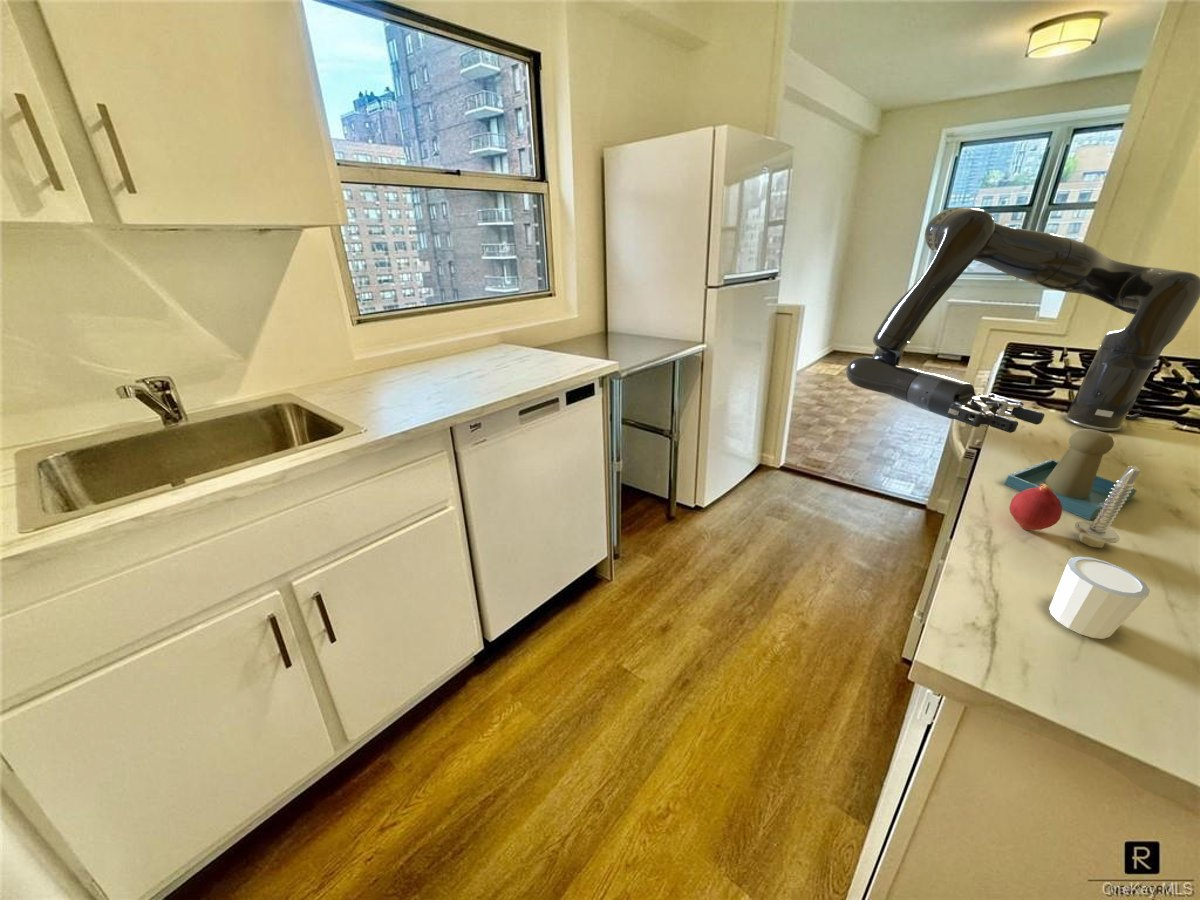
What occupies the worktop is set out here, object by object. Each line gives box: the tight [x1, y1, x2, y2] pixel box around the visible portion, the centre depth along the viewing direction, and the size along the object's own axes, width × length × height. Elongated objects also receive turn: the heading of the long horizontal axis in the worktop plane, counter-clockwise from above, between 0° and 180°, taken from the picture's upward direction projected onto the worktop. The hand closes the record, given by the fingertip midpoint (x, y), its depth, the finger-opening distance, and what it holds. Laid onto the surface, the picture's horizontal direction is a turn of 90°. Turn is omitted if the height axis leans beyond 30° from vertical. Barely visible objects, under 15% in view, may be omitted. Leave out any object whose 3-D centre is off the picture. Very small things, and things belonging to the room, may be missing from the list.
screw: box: [1073, 465, 1141, 548], centre depth 68 cm, size 13×5×5 cm
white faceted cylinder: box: [1048, 556, 1151, 640], centre depth 56 cm, size 7×7×7 cm
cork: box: [1044, 428, 1115, 499], centre depth 81 cm, size 6×6×11 cm
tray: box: [1004, 458, 1137, 521], centre depth 83 cm, size 14×12×2 cm
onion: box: [1009, 484, 1063, 531], centre depth 72 cm, size 6×6×8 cm
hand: (1029, 423), depth 87 cm, fingers open, 8 cm apart
